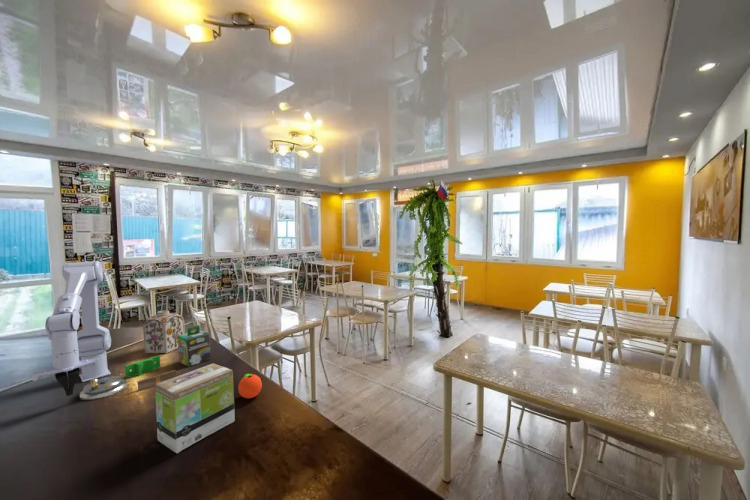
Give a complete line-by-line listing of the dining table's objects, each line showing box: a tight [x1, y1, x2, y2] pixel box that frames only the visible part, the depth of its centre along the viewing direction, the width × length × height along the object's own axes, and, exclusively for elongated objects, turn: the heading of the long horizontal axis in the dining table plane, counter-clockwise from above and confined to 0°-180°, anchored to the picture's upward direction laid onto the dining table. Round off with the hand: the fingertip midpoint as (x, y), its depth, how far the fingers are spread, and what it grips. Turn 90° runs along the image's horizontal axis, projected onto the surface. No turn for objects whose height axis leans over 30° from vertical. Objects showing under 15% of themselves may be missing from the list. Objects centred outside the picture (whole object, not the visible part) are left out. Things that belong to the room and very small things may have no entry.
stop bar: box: [137, 369, 177, 392], centre depth 108 cm, size 1×11×3 cm, turn 139°
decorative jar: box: [142, 309, 186, 354], centre depth 144 cm, size 12×12×18 cm
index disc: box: [82, 375, 124, 395], centre depth 105 cm, size 10×10×4 cm
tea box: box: [154, 363, 236, 454], centre depth 80 cm, size 15×10×15 cm
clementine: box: [237, 373, 263, 399], centre depth 97 cm, size 8×7×7 cm
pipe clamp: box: [124, 355, 161, 378], centre depth 119 cm, size 11×4×5 cm, turn 148°
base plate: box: [79, 379, 128, 401], centre depth 105 cm, size 12×12×1 cm
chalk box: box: [177, 325, 212, 368], centre depth 128 cm, size 9×9×15 cm
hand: (69, 394), depth 96 cm, fingers closed
